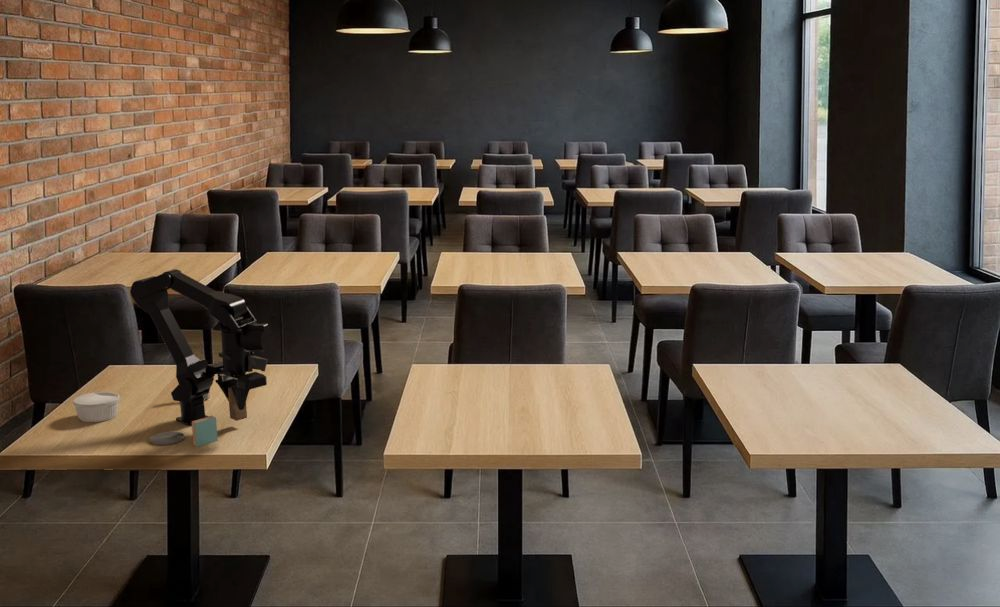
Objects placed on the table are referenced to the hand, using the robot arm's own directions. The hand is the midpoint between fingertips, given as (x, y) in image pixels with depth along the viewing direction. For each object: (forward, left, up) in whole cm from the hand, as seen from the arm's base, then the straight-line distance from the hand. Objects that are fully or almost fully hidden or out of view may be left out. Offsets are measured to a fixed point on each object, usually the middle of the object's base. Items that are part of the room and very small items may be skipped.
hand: (237, 408), depth 261 cm
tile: (+4, -12, -5) cm, 14 cm away
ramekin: (-34, -20, -5) cm, 40 cm away
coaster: (-5, -17, -5) cm, 18 cm away
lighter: (-28, +5, -5) cm, 29 cm away
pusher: (0, 0, -3) cm, 3 cm away
